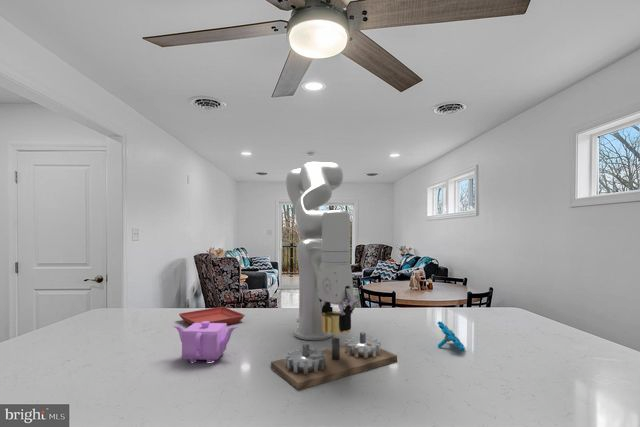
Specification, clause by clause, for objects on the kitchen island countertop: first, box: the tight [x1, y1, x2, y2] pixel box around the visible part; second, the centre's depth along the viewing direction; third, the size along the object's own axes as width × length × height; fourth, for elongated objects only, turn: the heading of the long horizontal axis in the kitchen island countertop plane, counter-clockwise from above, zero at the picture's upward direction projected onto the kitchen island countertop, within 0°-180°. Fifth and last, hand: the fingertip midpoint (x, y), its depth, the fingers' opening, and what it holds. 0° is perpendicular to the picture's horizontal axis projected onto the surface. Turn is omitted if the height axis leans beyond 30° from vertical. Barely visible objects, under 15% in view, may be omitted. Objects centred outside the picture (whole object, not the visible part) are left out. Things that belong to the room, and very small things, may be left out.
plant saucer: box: [178, 306, 246, 326], centre depth 130 cm, size 18×18×3 cm
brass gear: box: [321, 310, 351, 335], centre depth 91 cm, size 7×7×4 cm
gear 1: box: [285, 343, 325, 374], centre depth 86 cm, size 10×10×5 cm
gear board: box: [270, 337, 398, 391], centre depth 91 cm, size 30×14×6 cm, turn 123°
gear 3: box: [437, 320, 466, 352], centre depth 103 cm, size 11×6×10 cm
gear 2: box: [344, 332, 382, 358], centre depth 96 cm, size 10×10×5 cm
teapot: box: [172, 321, 239, 363], centre depth 96 cm, size 18×13×10 cm
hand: (335, 325), depth 91 cm, fingers closed on brass gear, 7 cm apart
